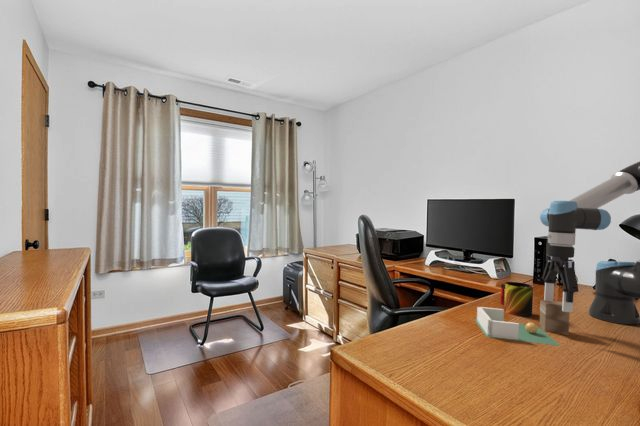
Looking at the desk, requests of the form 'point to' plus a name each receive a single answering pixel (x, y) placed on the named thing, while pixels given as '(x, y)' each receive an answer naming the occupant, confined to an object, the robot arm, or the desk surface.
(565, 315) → the player block
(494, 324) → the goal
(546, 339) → the mat
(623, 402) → the desk surface
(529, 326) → the ball
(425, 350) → the desk surface
